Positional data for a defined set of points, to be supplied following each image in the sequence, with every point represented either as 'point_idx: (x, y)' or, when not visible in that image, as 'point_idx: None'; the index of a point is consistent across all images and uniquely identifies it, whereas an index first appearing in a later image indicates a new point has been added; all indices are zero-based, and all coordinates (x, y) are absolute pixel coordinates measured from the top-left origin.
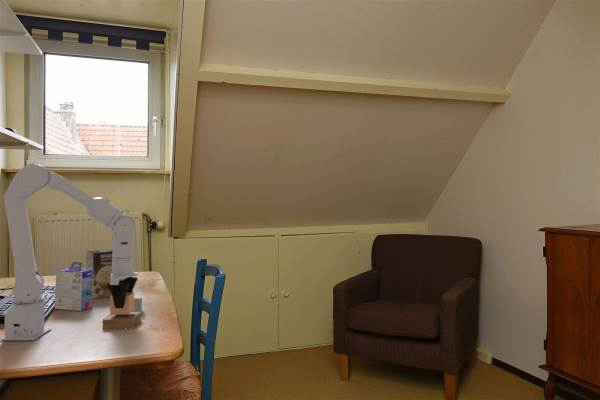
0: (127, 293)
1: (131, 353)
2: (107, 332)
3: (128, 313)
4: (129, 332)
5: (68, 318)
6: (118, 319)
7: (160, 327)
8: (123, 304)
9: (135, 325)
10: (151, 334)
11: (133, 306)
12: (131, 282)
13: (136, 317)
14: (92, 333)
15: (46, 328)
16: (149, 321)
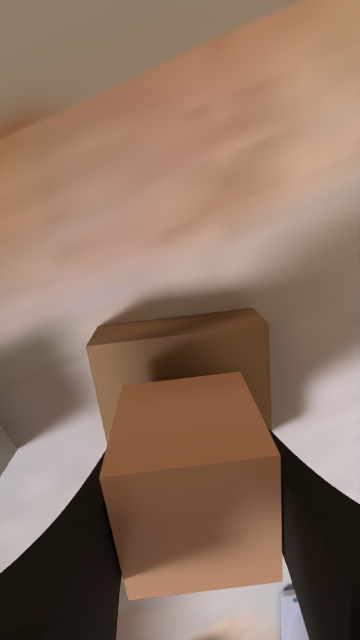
0: (158, 511)
1: None
2: (310, 395)
3: (241, 374)
4: (311, 298)
5: (123, 611)
6: (267, 400)
7: (210, 158)
8: (277, 438)
9: (201, 315)
10: (350, 161)
11: (136, 397)
12: (75, 622)
13: (187, 330)
14: (324, 445)
15: (292, 605)
16: (98, 275)
